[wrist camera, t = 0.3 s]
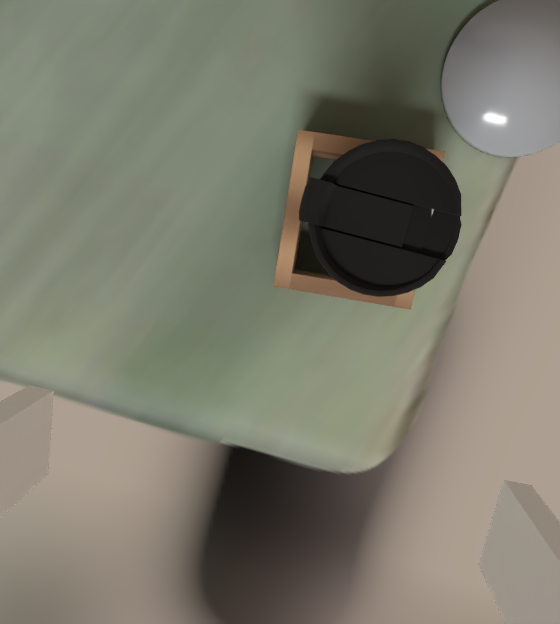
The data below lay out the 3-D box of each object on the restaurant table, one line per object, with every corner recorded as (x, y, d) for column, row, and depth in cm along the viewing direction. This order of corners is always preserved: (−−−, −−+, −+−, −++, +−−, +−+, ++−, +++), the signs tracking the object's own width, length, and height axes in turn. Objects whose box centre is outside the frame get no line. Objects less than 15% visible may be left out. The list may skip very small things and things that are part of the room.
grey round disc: (459, -12, 34) (461, -16, 33) (615, 7, 33) (621, 3, 32) (426, 146, 36) (428, 144, 35) (572, 167, 35) (576, 166, 35)
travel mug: (323, 172, 37) (322, 114, 17) (404, 193, 37) (496, 158, 17) (302, 249, 38) (280, 275, 19) (381, 270, 38) (442, 319, 18)
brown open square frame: (300, 138, 37) (297, 129, 33) (433, 158, 36) (444, 151, 33) (278, 280, 39) (273, 286, 35) (402, 301, 38) (410, 309, 35)
